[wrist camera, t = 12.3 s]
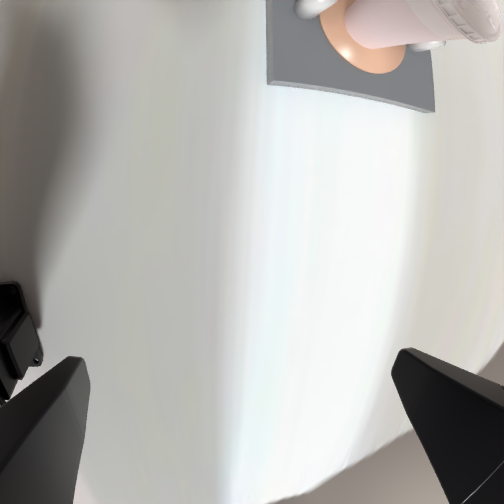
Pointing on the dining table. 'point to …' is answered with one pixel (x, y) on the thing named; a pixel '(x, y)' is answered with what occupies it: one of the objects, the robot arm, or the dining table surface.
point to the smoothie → (422, 21)
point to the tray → (343, 56)
